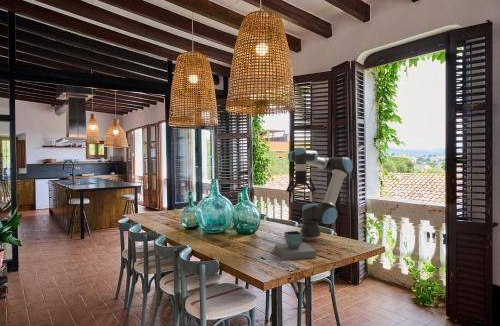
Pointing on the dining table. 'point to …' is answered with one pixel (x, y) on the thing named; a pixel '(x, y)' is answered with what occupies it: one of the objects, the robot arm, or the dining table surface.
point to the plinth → (295, 251)
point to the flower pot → (293, 239)
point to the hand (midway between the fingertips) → (301, 201)
